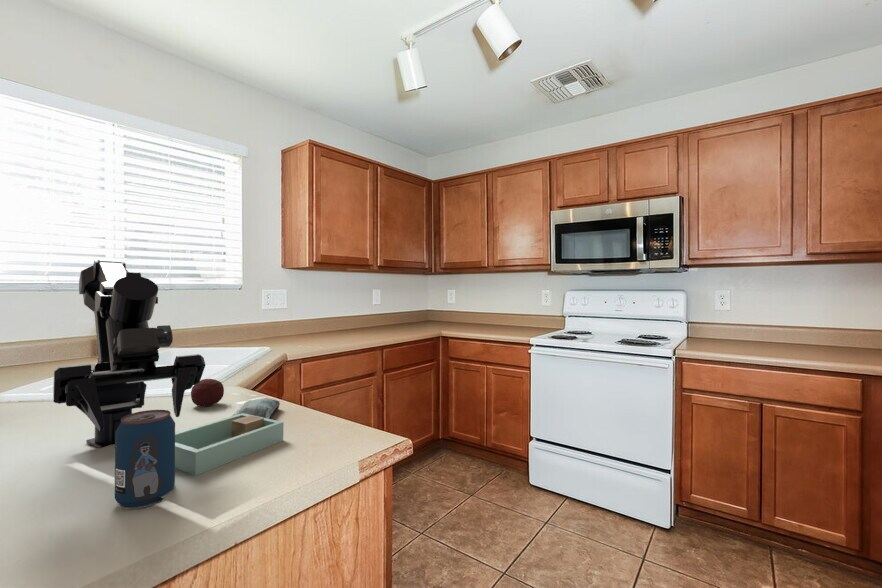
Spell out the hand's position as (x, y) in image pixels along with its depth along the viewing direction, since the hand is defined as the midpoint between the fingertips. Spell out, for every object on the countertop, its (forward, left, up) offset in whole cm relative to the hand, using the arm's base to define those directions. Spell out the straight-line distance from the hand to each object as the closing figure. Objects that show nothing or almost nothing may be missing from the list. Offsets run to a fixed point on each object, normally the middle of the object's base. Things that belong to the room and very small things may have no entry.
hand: (142, 422), depth 59 cm
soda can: (+3, -1, -10) cm, 11 cm away
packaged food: (-13, +29, -11) cm, 34 cm away
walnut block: (-2, +19, -9) cm, 21 cm away
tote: (-2, +14, -10) cm, 17 cm away
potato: (-35, +32, -10) cm, 49 cm away
